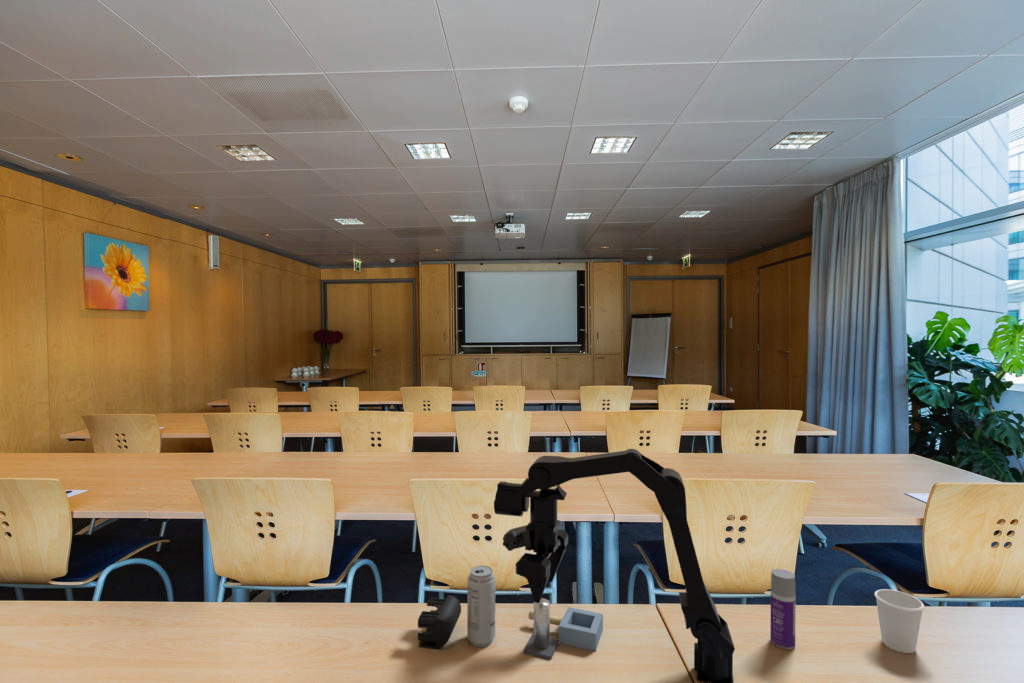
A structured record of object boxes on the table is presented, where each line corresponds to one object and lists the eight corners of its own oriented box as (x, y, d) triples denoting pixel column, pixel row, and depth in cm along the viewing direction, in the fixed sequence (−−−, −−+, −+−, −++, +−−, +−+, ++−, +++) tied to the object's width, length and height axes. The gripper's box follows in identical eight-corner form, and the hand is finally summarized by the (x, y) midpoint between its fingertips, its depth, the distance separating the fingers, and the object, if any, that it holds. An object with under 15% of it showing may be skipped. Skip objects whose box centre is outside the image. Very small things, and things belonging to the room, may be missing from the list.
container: (770, 646, 105) (770, 575, 105) (770, 634, 109) (770, 566, 109) (795, 652, 103) (796, 580, 103) (794, 640, 107) (795, 571, 107)
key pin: (551, 641, 105) (551, 600, 105) (546, 651, 102) (547, 608, 102) (536, 638, 106) (536, 596, 106) (531, 647, 103) (531, 604, 103)
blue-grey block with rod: (602, 629, 110) (602, 613, 110) (595, 651, 103) (595, 633, 103) (535, 615, 116) (535, 600, 116) (523, 634, 109) (523, 618, 109)
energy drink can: (498, 645, 105) (498, 575, 105) (470, 650, 103) (470, 579, 103) (491, 629, 111) (491, 562, 110) (465, 634, 109) (465, 566, 109)
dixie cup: (893, 657, 101) (893, 609, 101) (865, 633, 109) (865, 588, 109) (934, 658, 101) (935, 609, 101) (903, 634, 109) (903, 589, 109)
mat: (558, 642, 106) (558, 639, 106) (551, 659, 100) (551, 656, 100) (532, 636, 108) (532, 633, 108) (523, 652, 102) (523, 650, 102)
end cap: (449, 652, 103) (449, 620, 103) (417, 649, 104) (417, 617, 104) (461, 624, 113) (461, 595, 113) (431, 622, 114) (431, 593, 114)
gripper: (522, 500, 116) (522, 566, 116) (491, 528, 98) (491, 606, 98) (568, 505, 112) (568, 574, 112) (544, 536, 94) (544, 617, 94)
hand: (543, 591), depth 104 cm, fingers open, 9 cm apart
